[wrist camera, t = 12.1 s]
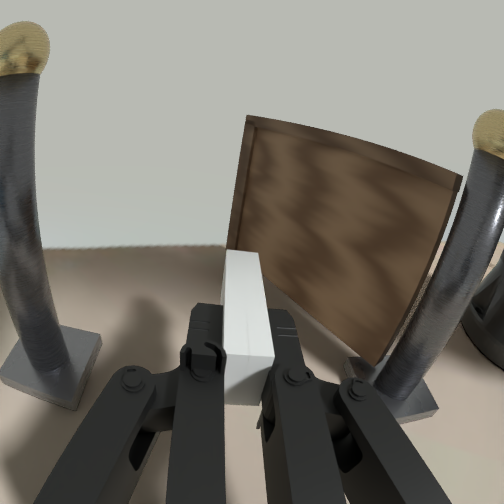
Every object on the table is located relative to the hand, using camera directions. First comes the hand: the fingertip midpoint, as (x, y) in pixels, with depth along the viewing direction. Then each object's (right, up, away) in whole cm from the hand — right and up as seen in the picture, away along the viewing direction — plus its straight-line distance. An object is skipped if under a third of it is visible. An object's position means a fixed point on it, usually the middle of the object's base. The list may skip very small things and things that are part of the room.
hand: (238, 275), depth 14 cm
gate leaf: (+4, -3, +12) cm, 13 cm away
